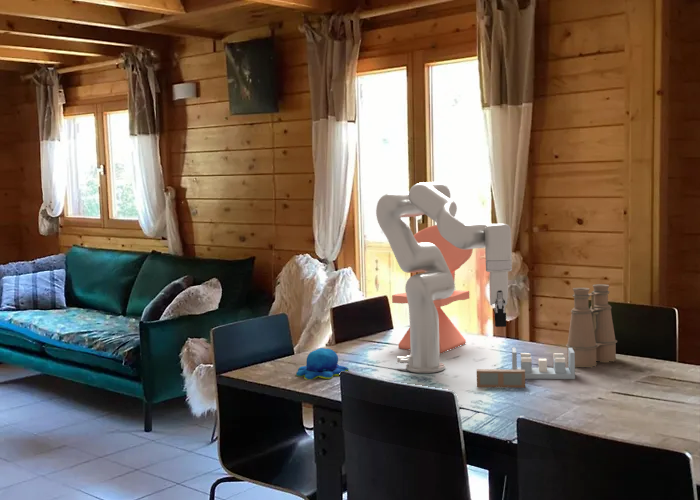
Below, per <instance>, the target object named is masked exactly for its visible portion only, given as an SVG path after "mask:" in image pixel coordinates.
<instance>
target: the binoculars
mask: <svg viewBox="0 0 700 500" xmlns="http://www.w3.org/2000/svg"><path fill="white" fill-rule="evenodd" d="M592 288H593V291H591V292H590V289H591V288H589V287H573V288H572V291H573V294H572V297H573V298H574V299H573V303H574V304H573V305H574V306H573V308H572V309H571V310H570V313H571V314H570V321H569V329H568V335H567V336H568V338H567V343H566V344H565V347H566V348H567V351H566V352H567V353H566V354H567V358H568V348H572V349H573V351H574V353H575V368H577V367H591V368H593V367H592V366H595V367H597V366H598V365H597V364H598V362H596V361H600V362H599V363H610V362H609V361H613V362H615V361H617V356H616V353H617V352H616V347H617V346H616V343H618V340H617V339H616V335H615V329H614V323H613V316H612V306H611V304H609V294H610V291H609V288H610V285H609V284H605V283H604V284H603V283H598V284H597V283H596V284H592ZM589 292H590V293H589ZM590 297H591V298H590ZM589 298H590V299H591V306H590V307H589ZM614 360H615V361H614ZM601 361H602V362H601ZM566 364H568V361H567V362H566ZM596 365H597V366H596Z"/></svg>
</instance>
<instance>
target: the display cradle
mask: <svg viewBox="0 0 700 500" xmlns="http://www.w3.org/2000/svg"><path fill="white" fill-rule="evenodd" d="M552 354H553V357H552V358H553V367H548V360H547V358H537V359H538V360H537V361H538V363H537V364H538V367H533V366H532V364H533V362H532V361H533V359H532V357H531V355H532V354H531V352H530V353H528V352H525V353H523V352H520V367H519V366H518V367H517V365H518V361H517V348H516V347H511V369H512V370H525V380H526V379H530V380H531V379H533V380H534V379H538V380H543V379H544V380H575V379H576V370H575V369H576V367H575V353H574V351H573V349H572V348H568V357H567V362H568V365H567V366H568V367H566V357H564V355H565V354H564V353H563V352H562V353H561V352H560V353H556V352H555V353H552Z"/></svg>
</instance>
